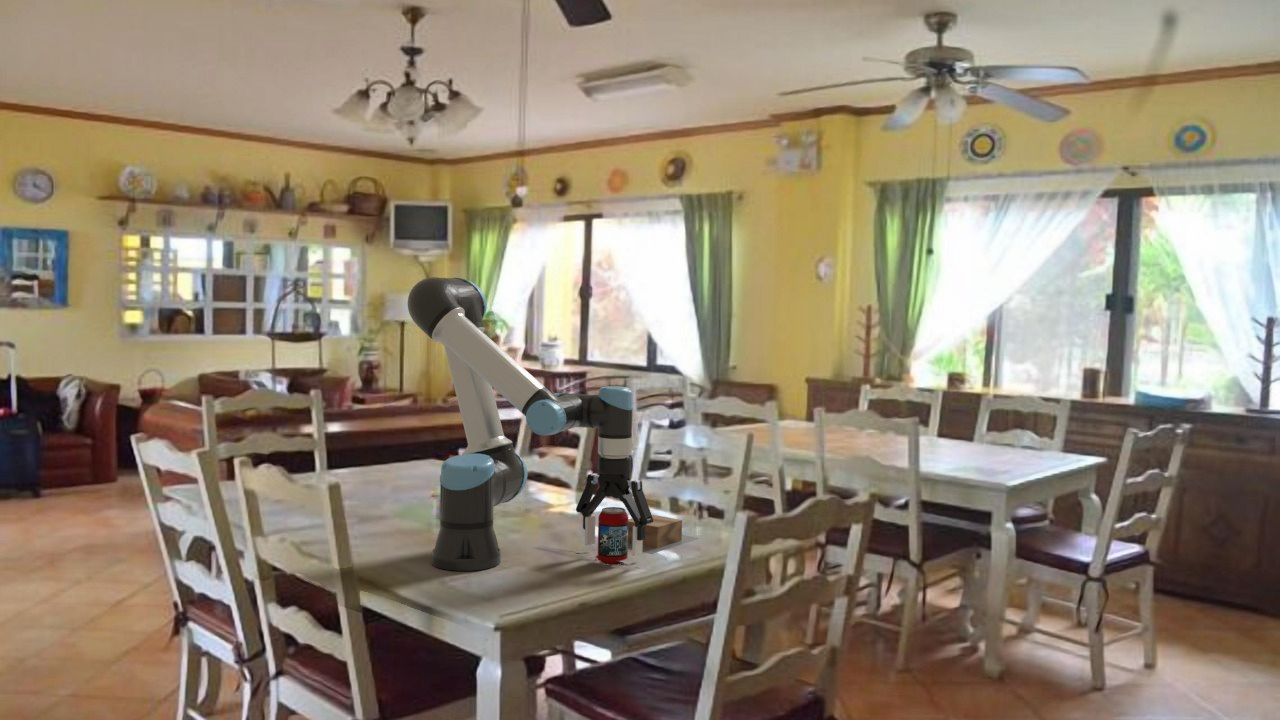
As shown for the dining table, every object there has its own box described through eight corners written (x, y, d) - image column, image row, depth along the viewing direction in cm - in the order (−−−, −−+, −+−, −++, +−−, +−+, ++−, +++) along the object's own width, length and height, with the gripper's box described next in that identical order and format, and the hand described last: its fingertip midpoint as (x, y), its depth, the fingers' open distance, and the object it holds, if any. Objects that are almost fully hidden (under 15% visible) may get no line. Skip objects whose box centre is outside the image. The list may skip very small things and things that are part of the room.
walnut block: (657, 548, 237) (657, 527, 236) (623, 541, 243) (623, 520, 242) (681, 540, 245) (682, 520, 244) (648, 533, 251) (648, 513, 250)
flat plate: (651, 558, 232) (651, 553, 232) (603, 548, 240) (603, 543, 240) (699, 543, 248) (699, 538, 248) (653, 533, 256) (653, 529, 256)
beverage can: (601, 566, 224) (602, 513, 223) (594, 558, 231) (595, 506, 230) (630, 565, 226) (632, 512, 225) (623, 557, 232) (624, 505, 232)
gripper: (670, 459, 222) (668, 555, 224) (582, 448, 237) (581, 537, 238) (649, 464, 216) (647, 562, 218) (561, 451, 231) (560, 543, 233)
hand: (613, 549), depth 228 cm, fingers open, 13 cm apart
